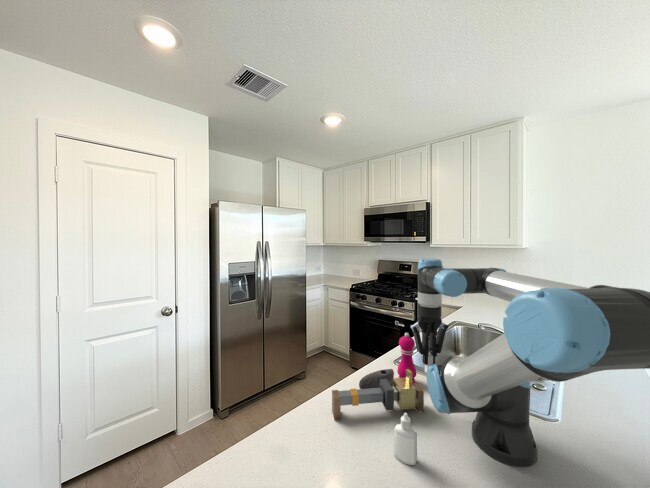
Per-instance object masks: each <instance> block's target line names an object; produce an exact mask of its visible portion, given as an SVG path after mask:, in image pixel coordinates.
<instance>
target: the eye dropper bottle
mask: <svg viewBox="0 0 650 488" xmlns="http://www.w3.org/2000/svg"><path fill="white" fill-rule="evenodd" d="M393 436H394V437H393V455H394V458H396V460H398V461H399V462H401V463H403V464H405V465H409V466H416V463H417V461H418V433H417V431H416V430H415V429H414V428H413V427H411V418H410V417H409V416H408V413H407V412H404V413H403V415H401V417H400V423H397V424H396V425H395V427H394V434H393Z"/></svg>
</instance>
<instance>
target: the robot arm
mask: <svg viewBox="0 0 650 488" xmlns="http://www.w3.org/2000/svg"><path fill="white" fill-rule="evenodd" d="M416 271H417V303H418V304H417V319H416V322H415V323H414V324H410V325H409V328H410V329H411V331H412V333H413V340H414V342H415V348H416V351H417V352H418V353H419V354H420V355H422V363H423V365H424V373H426V384H427V389H428V394H429V397H430V400H431V402H432V404H433V407H434V408H435V410H437V412H438V413H441V414H448V415H451V414H461V413H463V414H464V413H465V414H466V413H476V415H475V419H474V420H473V422H472V424H471V438H472V440H473V442H474V443H475V444H476V446H477V447H478V448H479V449H480V450H481V451H482V452H484V453H485V454H486V455H488V456H489V457H491V458H492V459H495V461H498V462H501V463H504V464H506V465H509V466H514V467H520V468H521V467H522V468H523V467H530V466H533V465H534V464H535V463H536V462H537V460H538V446H537V443H536V441H535V438H534V435H533V433H532V432H533V431H532V428H531V426H530V409H531V408H530V406H531V405H530V404H531V402H530V401H531V388H532V387H531V382H532V381H535V380H537V379H540V378H541V379H542V380H543V379H544V380H547V381H549V382H556V383H557V382H558V383H559V382H560V383H561V382H567V381H570V380H573V379H576V378H580V377H583V376H587V375H590V374H593V373H597V372H602V371H611V370H613V371H614V370H637V369H638V370H639V369H640V370H643V369H644V370H645V369H647V370H648V369H650V291H647V290H645V289H644V290H643V289H639V288H633V287H632V288H631V287H630V288H628V287H618V286H611V285H605V284H595V285H592V286H589V287H588V286H587V287H586V286H582V285H581V286H580V285H576V284H572V283H564V282H561V281H560V282H559V281H555V280H550V279H545V278H539V277H534V276H529V275H523V274H518V273H512V272H508V271H507V270H506V269H504V268H500V267H482V268H478V267H477V268H470V267H469V268H467V267H465V268H461V267H460V268H454V267H453V268H446V267H445V268H444V267H443V261H442V260H441V259H439V258H438V259H437V258H420V259H419V260H418V263H417V270H416ZM463 294H467V295H469V294H483V295H484V294H485V295H487V296H491V297H494V298H498V299H501V300H503V301H506V302H509V303H508V304H507V306H506V308H505V311H504V314H505V315H506V317H504V318H503V320H502V327H503V333H502V334H501V335H499V336H498V337H496V338H494V339H493V340H491V341H490V342H489V343H487V344H486V345H484V346H482V347H480V348H479V349H478V350H476V351H475V352H473V353H472V354H470V355H469V356H467V357H463V356H462V357H455V358H452V359H450V360H449V361H448V362H446V363H444V364H436V358H437V356H438V354H441V352H442V350H443V345H444V342H445V337H446V332H447V331H448V329H449V325H447V324H446V323H444V322H443V320H442V318H441V317H442V306H441V305H443V304H442V301H443V300H442V298H443V297H442V295H443V296H446V297H451V298H457V297H459V296H461V295H463ZM420 329H421V334H420ZM421 337H422V338H421Z"/></svg>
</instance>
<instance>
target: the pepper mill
mask: <svg viewBox="0 0 650 488" xmlns="http://www.w3.org/2000/svg"><path fill="white" fill-rule="evenodd" d="M398 346H399V347H400V348H399V350H400V351H399V353H401V360H400V361H399V364H398V366H397V371H396V373H397V374H398V378H405V377H406V369H410V370H411V372H412V384H416V379H415V378H416V377H417V369H416V366H415V364H414V360H413V355H414V348H416V343H415V339H414V337H411V336H410V334H409V332H405V333H404V335H403V336H401V337H400V338H399V341H398Z"/></svg>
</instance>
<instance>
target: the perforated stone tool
mask: <svg viewBox="0 0 650 488" xmlns="http://www.w3.org/2000/svg"><path fill="white" fill-rule="evenodd" d="M393 378H395V372H394V370H393V368H388V369H386V368H385V369H380V370H376V371H373V372H370V373H368V374H366V375H364V376H363V377H361V379H360V380H359V382H358V383H359V384H358V387H359V388H358V389H370V388H380V379H387V381H388V382H389V383H390V385H391V386H392V387H393Z"/></svg>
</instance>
